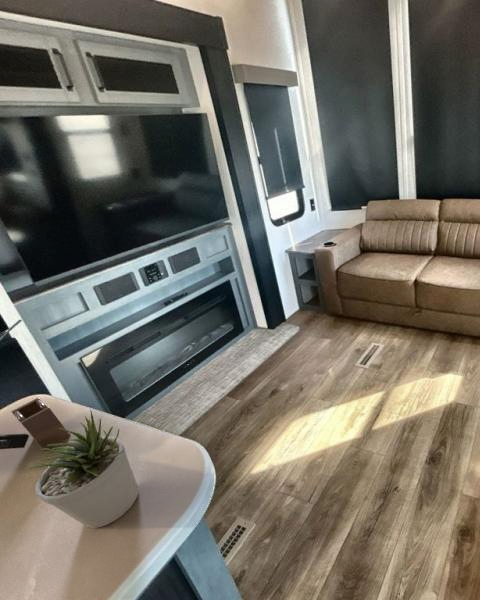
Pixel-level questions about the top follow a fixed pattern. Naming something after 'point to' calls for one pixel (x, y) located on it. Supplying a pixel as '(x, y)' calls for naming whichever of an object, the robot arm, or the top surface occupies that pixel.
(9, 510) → the top surface
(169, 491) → the top surface
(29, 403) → the brown open box
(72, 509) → the potted plant
